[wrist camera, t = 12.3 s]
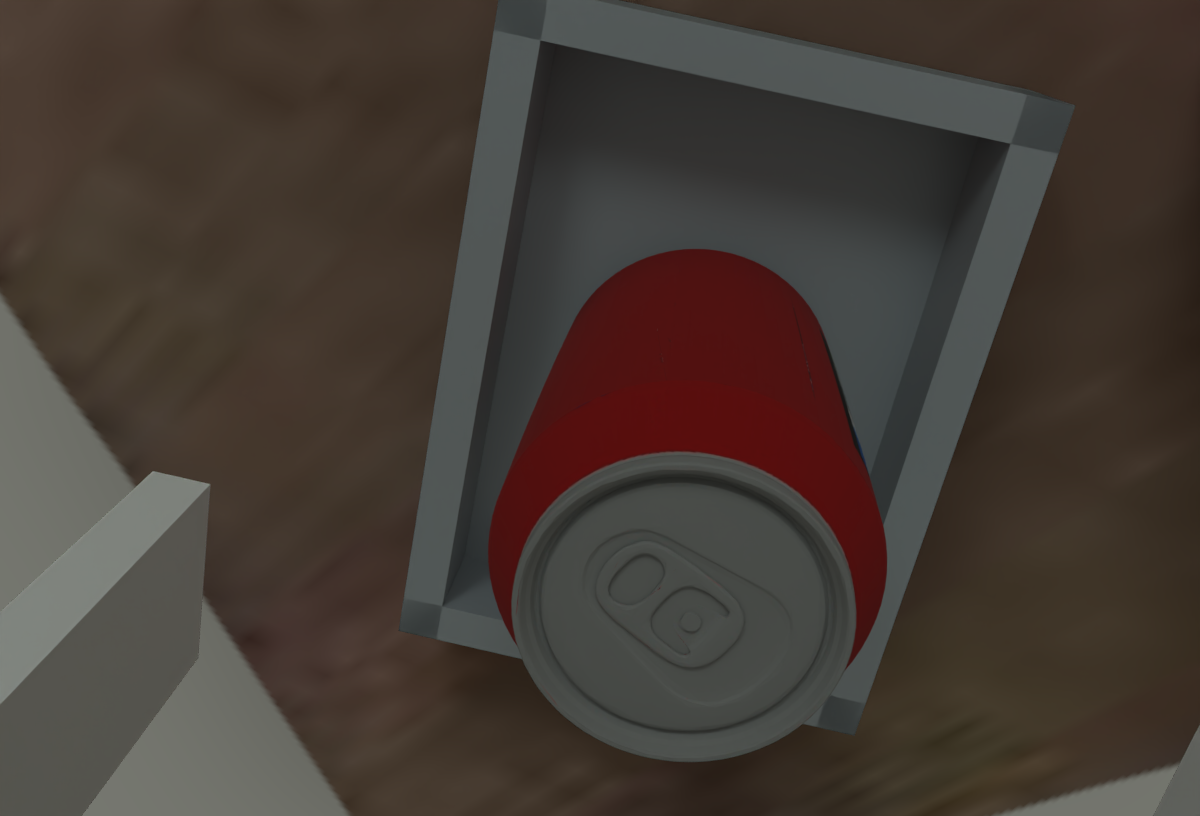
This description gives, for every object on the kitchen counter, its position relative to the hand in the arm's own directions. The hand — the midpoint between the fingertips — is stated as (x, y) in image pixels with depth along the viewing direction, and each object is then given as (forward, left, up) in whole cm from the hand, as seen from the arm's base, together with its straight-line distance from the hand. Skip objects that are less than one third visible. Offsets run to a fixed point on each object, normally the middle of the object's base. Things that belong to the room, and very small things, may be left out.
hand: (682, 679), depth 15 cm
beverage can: (+1, 0, -15) cm, 15 cm away
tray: (0, 0, -15) cm, 15 cm away
